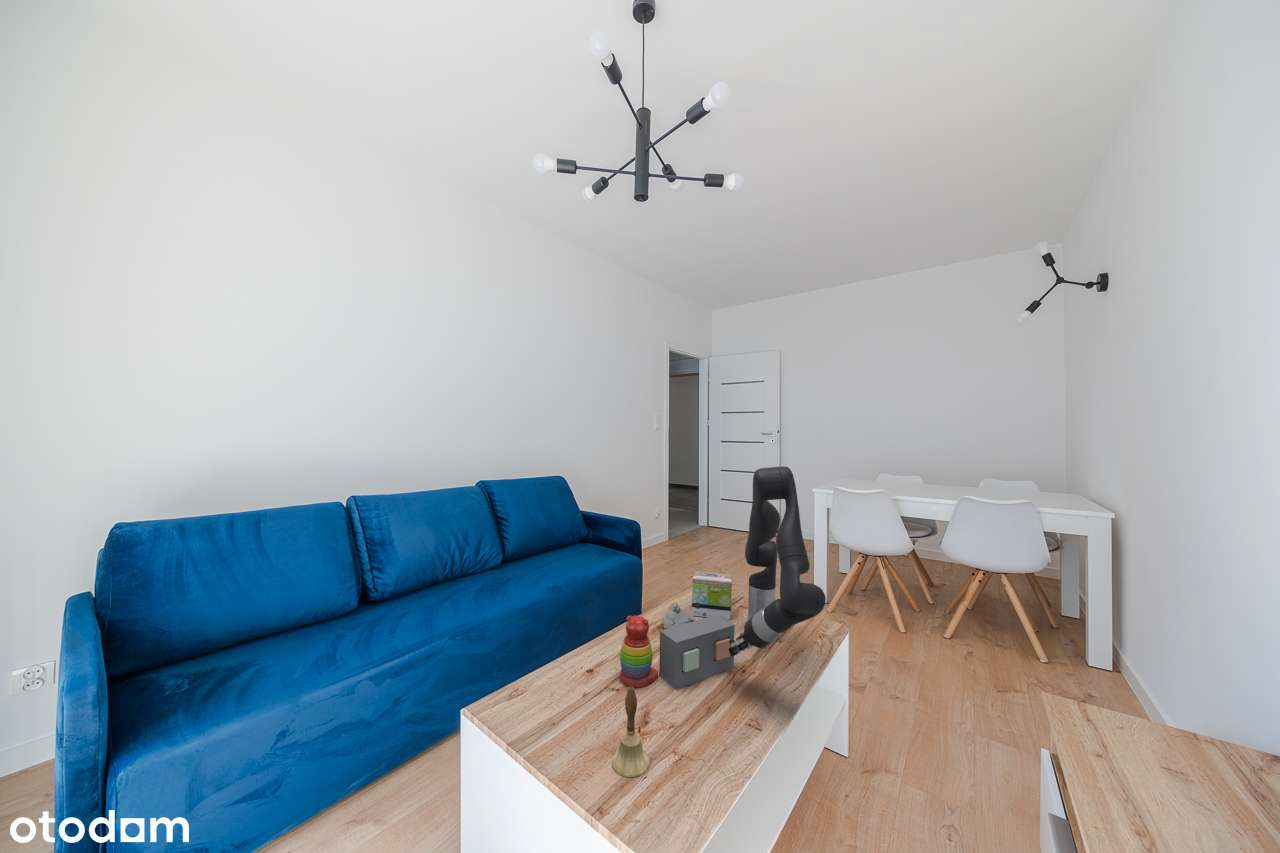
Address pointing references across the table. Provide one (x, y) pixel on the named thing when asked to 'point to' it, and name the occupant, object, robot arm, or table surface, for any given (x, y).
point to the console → (690, 637)
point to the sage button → (690, 659)
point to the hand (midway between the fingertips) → (731, 652)
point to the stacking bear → (636, 654)
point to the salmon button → (721, 649)
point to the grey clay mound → (677, 617)
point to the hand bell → (630, 744)
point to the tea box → (711, 595)
